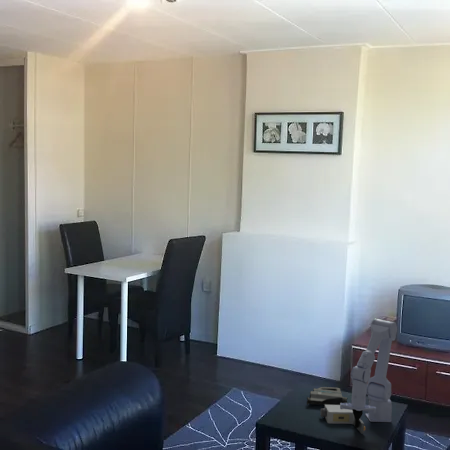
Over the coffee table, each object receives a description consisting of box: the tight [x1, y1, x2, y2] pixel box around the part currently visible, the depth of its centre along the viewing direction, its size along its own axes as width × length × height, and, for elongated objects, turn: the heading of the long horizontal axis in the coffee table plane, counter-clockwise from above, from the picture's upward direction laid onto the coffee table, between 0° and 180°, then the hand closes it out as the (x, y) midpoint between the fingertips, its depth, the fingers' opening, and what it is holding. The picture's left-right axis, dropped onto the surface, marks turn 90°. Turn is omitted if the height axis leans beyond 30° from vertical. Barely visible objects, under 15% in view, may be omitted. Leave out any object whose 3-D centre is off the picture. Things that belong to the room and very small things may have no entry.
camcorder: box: [306, 386, 348, 406], centre depth 284 cm, size 16×20×5 cm
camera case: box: [319, 405, 354, 425], centre depth 263 cm, size 14×8×5 cm, turn 93°
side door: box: [352, 414, 366, 435], centre depth 254 cm, size 10×2×4 cm, turn 9°
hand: (356, 427), depth 252 cm, fingers closed, pressing on side door
